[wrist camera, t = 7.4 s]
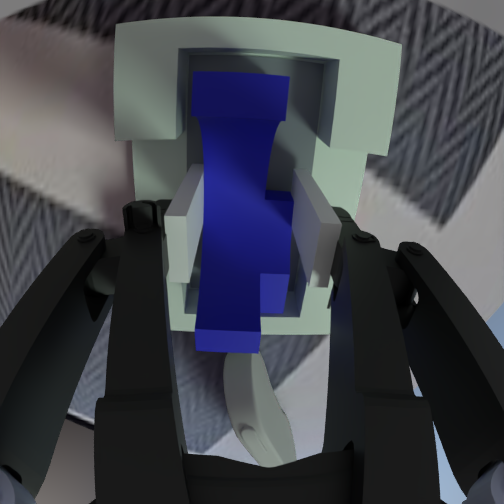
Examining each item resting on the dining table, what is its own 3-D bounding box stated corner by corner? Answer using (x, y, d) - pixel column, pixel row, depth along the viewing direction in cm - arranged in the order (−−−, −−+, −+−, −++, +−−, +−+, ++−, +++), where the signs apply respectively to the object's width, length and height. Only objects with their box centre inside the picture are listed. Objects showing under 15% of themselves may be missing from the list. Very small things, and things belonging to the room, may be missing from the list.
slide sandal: (221, 330, 24) (216, 422, 17) (249, 324, 24) (253, 418, 17) (275, 433, 34) (279, 492, 27) (293, 430, 34) (300, 490, 27)
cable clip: (278, 282, 20) (289, 353, 15) (206, 278, 20) (196, 350, 15) (302, 81, 14) (336, 83, 9) (211, 74, 14) (193, 71, 9)
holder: (151, 294, 22) (140, 327, 19) (138, 32, 13) (116, 24, 10) (329, 300, 23) (340, 333, 20) (374, 48, 14) (401, 44, 11)
